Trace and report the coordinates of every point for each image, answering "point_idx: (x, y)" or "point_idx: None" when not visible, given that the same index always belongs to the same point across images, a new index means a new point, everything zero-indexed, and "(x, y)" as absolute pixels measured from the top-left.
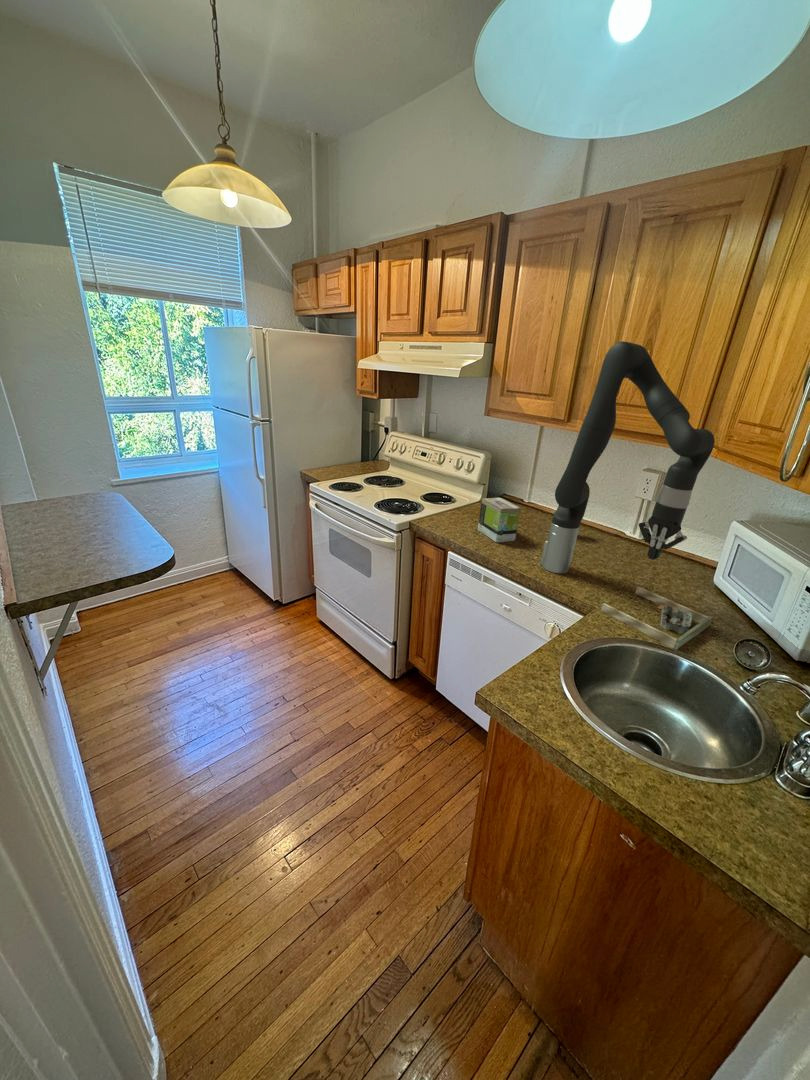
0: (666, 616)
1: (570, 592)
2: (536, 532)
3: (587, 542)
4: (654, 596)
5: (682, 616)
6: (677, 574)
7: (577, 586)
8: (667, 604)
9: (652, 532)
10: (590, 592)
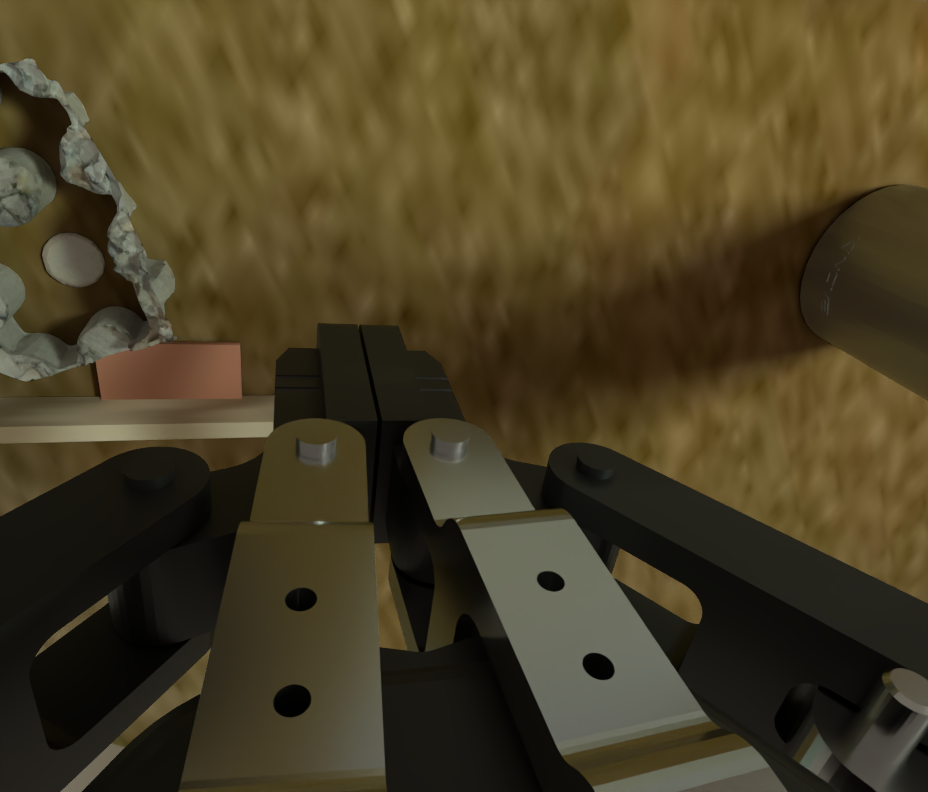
0: (69, 176)
1: (724, 3)
2: None
3: None
4: None
5: (65, 355)
6: None
7: (707, 149)
8: (206, 407)
9: (641, 635)
10: (618, 145)
